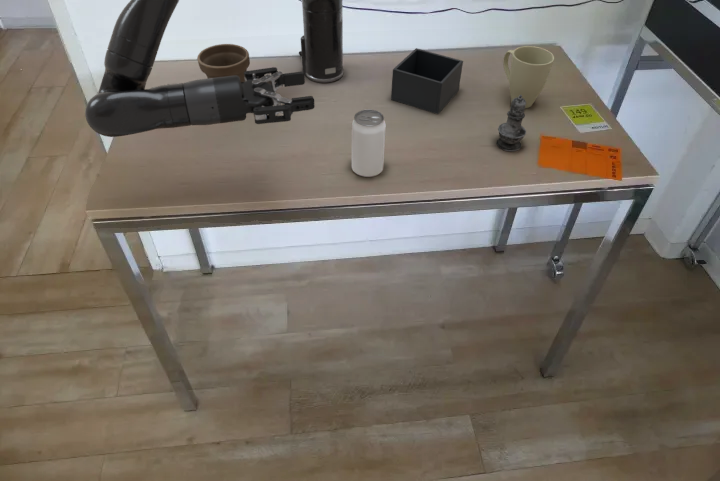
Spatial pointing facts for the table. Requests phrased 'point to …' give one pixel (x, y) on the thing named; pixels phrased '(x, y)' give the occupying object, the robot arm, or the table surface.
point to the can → (368, 142)
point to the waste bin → (426, 80)
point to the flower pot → (224, 61)
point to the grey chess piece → (513, 127)
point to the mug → (527, 72)
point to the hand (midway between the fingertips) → (309, 89)
